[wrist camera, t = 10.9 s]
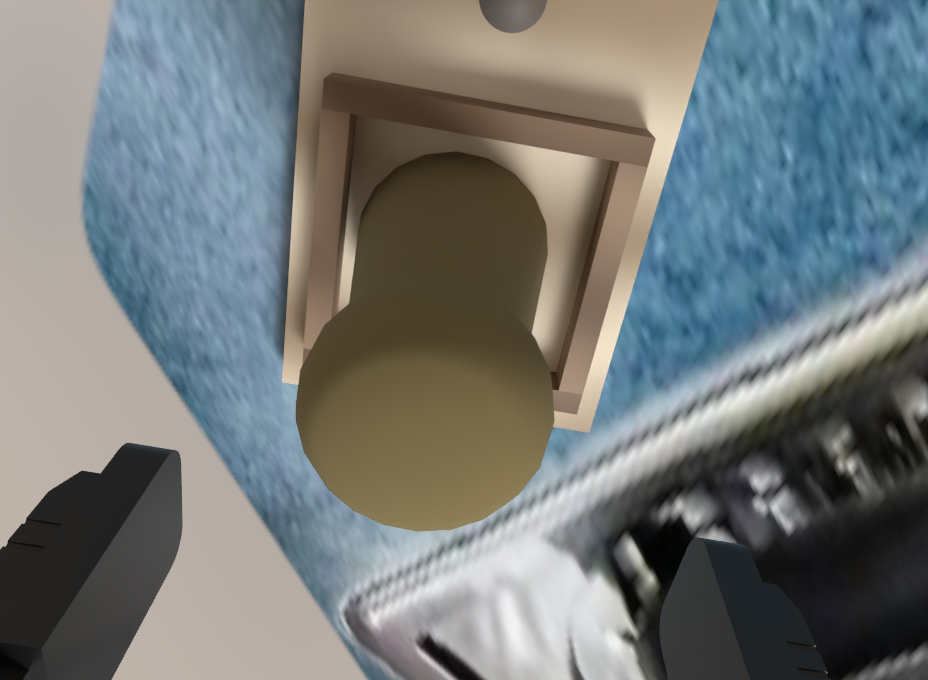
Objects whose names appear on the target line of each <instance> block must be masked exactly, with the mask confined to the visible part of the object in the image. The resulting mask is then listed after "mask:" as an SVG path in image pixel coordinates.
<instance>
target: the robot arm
mask: <svg viewBox="0 0 928 680" xmlns="http://www.w3.org/2000/svg"><path fill="white" fill-rule="evenodd" d="M181 534H182V485H181V458H180V454H179V452H177V451H176V450H169V449H163V448H157V447H151V446H145V445H139V444H133V443H126V444H124V445H123V446H122V447H121V448H120V449H119V450H118V451H117V453H116V454H115V455H114V457H113V458H112V459H111V461H110V462H109V463H108V465H107V466H106V467H105V469H104V470H103V471H102V473H101V474H99V473H93V472H87V471H81V472H79V473H78V474H76V475H74V476H73V477H71V478H69V479H68V480H66V481H65V482H63V483H62V484H60V485H58V486H57V487H55V488H53V489H52V490H50V491H49V492H48V493H47V494H46V495H45V496H44V498H43V499H42V500H41V501H40V502H39V504H38V505H37V506H36V507H35V508H34V510H33V511H32V512H31V513H30V515H29V516H28V517H27V518H26V522H25V524H21V525H20V527H19V528H18V529H17V530H16V531H15V533H14V534H13V535H12V536H11V537H10V539H9V540H8V544H7V546H6V547H2V548H1V549H0V680H111V679H112V678H113V676H114V673H115V672H116V670H117V668H118V666H119V664H120V663H121V660H122V659H123V657H124V655H125V653H126V651H127V649H128V648H129V646H130V644H131V642H132V640H133V638H134V636H135V634H136V633H137V631H138V629H139V626H140V625H141V623H142V621H143V619H144V618H145V616H146V614H147V612H148V610H149V608H150V606H151V604H152V603H153V601H154V599H155V597H156V595H157V593H158V591H159V589H160V588H161V586H162V584H163V582H164V580H165V578H166V576H167V574H168V572H169V571H170V569H171V567H172V565H173V562H174V560H175V557H176V555H177V551H178V548H179V544H180V539H181ZM660 642H661V648H662V653H663V657H664V662H665V666H666V671H667V675H668V680H831V679H829V678H827V669H826V667H825V665H824V663H823V660H822V658H821V656H820V654H819V652H816V650H815V647H816V645H815V642H814V640H813V638H812V636H811V633H810V631H809V629H808V627H807V624H806V622H805V620H804V618H803V615H802V614H801V612H800V611H799V610H798V609H797V608H796V607H795V605H794V604H793V603H792V602H791V601H790V600H789V598H788V597H787V596H786V595H785V594H784V593H783V591H782V590H781V589H780V588H779V587H778V586H777V585H775V584H769V583H763V582H762V580H761V577H760V575H759V572H758V570H757V567H756V565H755V562H754V560H753V557H752V555H751V553H750V551H749V549H748V548H747V547H746V546H744V545H741V544H735V543H729V542H723V541H716V540H710V539H704V538H694V539H693V540H692V541H691V542H690V544H689V546H688V548H687V550H686V553H685V555H684V557H683V560H682V562H681V564H680V567H679V569H678V571H677V574H676V576H675V579H674V581H673V583H672V586H671V588H670V590H669V593H668V595H667V597H666V600H665V602H664V605H663V608H662V613H661V619H660Z"/></svg>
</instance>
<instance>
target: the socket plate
mask: <svg viewBox="0 0 928 680" xmlns="http://www.w3.org/2000/svg"><path fill="white" fill-rule="evenodd" d="M718 1H719V0H305V10H304V26H303V43H302V60H301V76H300V93H299V109H298V126H297V143H296V159H295V176H294V193H293V209H292V226H291V243H290V259H289V276H288V292H287V309H286V326H285V342H284V359H283V376H282V382H284V383H290V384H297V385H298V384H299V375H300V369H301V367H302V365H303V364H304V362H305V360H306V358H307V356H308V354H309V352H310V350H311V349H312V347H313V345H314V343H315V341H316V339H317V338H318V336H319V334H320V332H321V330H322V328H323V326H324V325H325V324H326V323H327V322H328V321H330V320H331V319H332V318H333V317H334V316H335V315H336V314H338V313H339V312H340V311H341V310H342V309H343V308H344V307H346V306H347V305H348V304H349V300H350V292H351V284H352V276H353V269H354V261H355V253H356V245H357V238H358V231H359V224H360V218H361V213H362V211H363V209H364V207H365V205H366V203H367V201H368V199H369V198H370V196H371V194H372V192H373V190H374V188H375V187H376V186H377V185H378V184H379V183H380V182H381V181H382V180H383V179H384V178H386V177H387V176H388V175H389V174H390V173H391V172H392V171H393V170H394V169H395V168H396V167H398V166H400V165H402V164H405V163H407V162H409V161H411V160H414V159H416V158H418V157H420V156H423V155H425V154H434V153H445V152H455V151H457V152H462V153H466V154H471V155H476V156H480V157H485V158H488V159H490V160H492V161H493V162H495V163H497V164H498V165H500V166H502V167H503V168H505V169H507V170H509V171H510V172H512V173H514V174H515V175H516V176H517V177H518V178H519V180H520V181H521V182H522V183H523V184H524V185H525V186H526V188H527V189H528V190H529V191H530V192H531V193H532V194H533V196H534V197H535V198H536V201H537V203H538V206H539V208H540V211H541V213H542V215H543V218H544V220H545V223H546V227H547V244H548V256H547V261H546V266H545V271H544V276H543V281H542V286H541V290H540V295H539V300H538V305H537V310H536V315H535V320H534V325H533V330H532V335H533V336H534V337H535V339H536V341H537V343H538V346H539V348H540V350H541V352H542V354H543V357H544V359H545V361H546V363H547V365H548V368H549V370H550V374H551V380H552V387H553V403H554V419H555V422H554V425H553V427H558V428H564V429H570V430H576V431H582V432H588V433H589V432H590V428H591V425H592V422H593V418H594V415H595V412H596V408H597V405H598V402H599V398H600V395H601V392H602V388H603V385H604V381H605V378H606V375H607V371H608V368H609V365H610V361H611V358H612V355H613V351H614V348H615V345H616V341H617V338H618V335H619V331H620V328H621V325H622V321H623V318H624V315H625V311H626V308H627V305H628V301H629V298H630V295H631V291H632V288H633V285H634V281H635V278H636V275H637V271H638V268H639V265H640V261H641V258H642V255H643V251H644V248H645V245H646V241H647V238H648V235H649V231H650V228H651V225H652V221H653V218H654V214H655V211H656V208H657V204H658V201H659V198H660V194H661V191H662V188H663V184H664V181H665V178H666V174H667V171H668V168H669V164H670V161H671V158H672V154H673V151H674V148H675V144H676V141H677V138H678V134H679V131H680V128H681V124H682V121H683V118H684V114H685V111H686V108H687V104H688V101H689V98H690V94H691V91H692V88H693V84H694V81H695V78H696V74H697V71H698V68H699V64H700V61H701V58H702V54H703V51H704V47H705V44H706V41H707V37H708V34H709V31H710V27H711V24H712V21H713V17H714V14H715V11H716V7H717V4H718Z"/></svg>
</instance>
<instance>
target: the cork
mask: <svg viewBox="0 0 928 680" xmlns="http://www.w3.org/2000/svg"><path fill="white" fill-rule="evenodd" d="M547 256H548V244H547V227H546V223H545V220H544V218H543V215H542V213H541V211H540V208H539V206H538V203H537V201H536V198H535V197H534V196H533V194H532V193H531V192H530V191H529V190H528V189H527V188H526V186H525V185H524V184H523V183H522V182H521V181H520V180H519V178H518V177H517V176H516V175H515V174H514V173H512V172H510V171H509V170H507V169H505V168H503V167H502V166H500V165H498V164H497V163H495V162H493V161H492V160H490V159H488V158H485V157H480V156H476V155H471V154H466V153H462V152H457V151H455V152H445V153H434V154H425V155H423V156H420V157H418V158H416V159H414V160H411V161H409V162H407V163H405V164H402V165H400V166H398V167H396V168H395V169H394V170H393V171H392V172H391V173H390V174H389V175H388V176H387V177H386V178H384V179H383V180H382V181H381V182H380V183H379V184H378V185H377V186H376V187H375V188H374V190H373V192H372V194H371V196H370V198H369V199H368V201H367V203H366V205H365V207H364V209H363V211H362V213H361V218H360V224H359V231H358V238H357V245H356V253H355V261H354V269H353V276H352V284H351V292H350V300H349V304H348V305H347V306H346V307H344V308H343V309H342V310H341V311H340V312H339V313H338V314H336V315H335V316H334V317H333V318H332V319H331V320H330V321H328V322H327V323H326V324H325V325H324V326H323V328H322V330H321V332H320V334H319V336H318V338H317V339H316V341H315V343H314V345H313V347H312V349H311V350H310V352H309V354H308V356H307V358H306V360H305V362H304V364H303V365H302V367H301V369H300V375H299V384H298V392H297V400H296V423H297V426H298V430H299V434H300V438H301V442H302V446H303V450H304V453H305V454H306V456H307V458H308V459H309V461H310V462H311V464H312V465H313V467H314V468H315V470H316V471H317V473H318V474H319V476H320V477H321V479H322V480H323V482H324V483H325V485H326V487H327V488H328V490H329V491H331V492H332V493H333V494H334V495H335V496H337V497H338V498H339V499H340V500H341V501H343V502H344V503H345V504H346V505H347V506H349V507H350V508H351V509H352V510H353V511H355V512H357V513H359V514H362V515H364V516H366V517H368V518H370V519H372V520H375V521H377V522H379V523H381V524H383V525H387V526H392V527H398V528H403V529H408V530H413V531H433V530H451V529H455V528H458V527H461V526H464V525H467V524H470V523H474V522H477V521H480V520H483V519H484V518H486V517H487V516H489V515H490V514H492V513H493V512H495V511H496V510H498V509H499V508H501V507H502V506H504V505H505V504H507V503H508V502H510V501H511V500H512V499H513V498H515V497H516V496H517V495H518V494H519V493H520V492H521V491H522V490H523V488H524V487H525V486H526V485H527V483H528V482H529V481H530V479H531V478H532V477H533V476H534V474H535V473H536V472H537V471H538V469H539V468H540V465H541V462H542V459H543V456H544V453H545V450H546V447H547V443H548V440H549V437H550V434H551V431H552V428H553V425H554V422H555V419H554V403H553V387H552V380H551V374H550V370H549V368H548V365H547V363H546V361H545V359H544V357H543V354H542V352H541V350H540V348H539V346H538V343H537V341H536V339H535V337H534V336H533V335H532V330H533V325H534V320H535V315H536V310H537V305H538V300H539V295H540V290H541V286H542V281H543V276H544V271H545V266H546V261H547Z"/></svg>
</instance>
